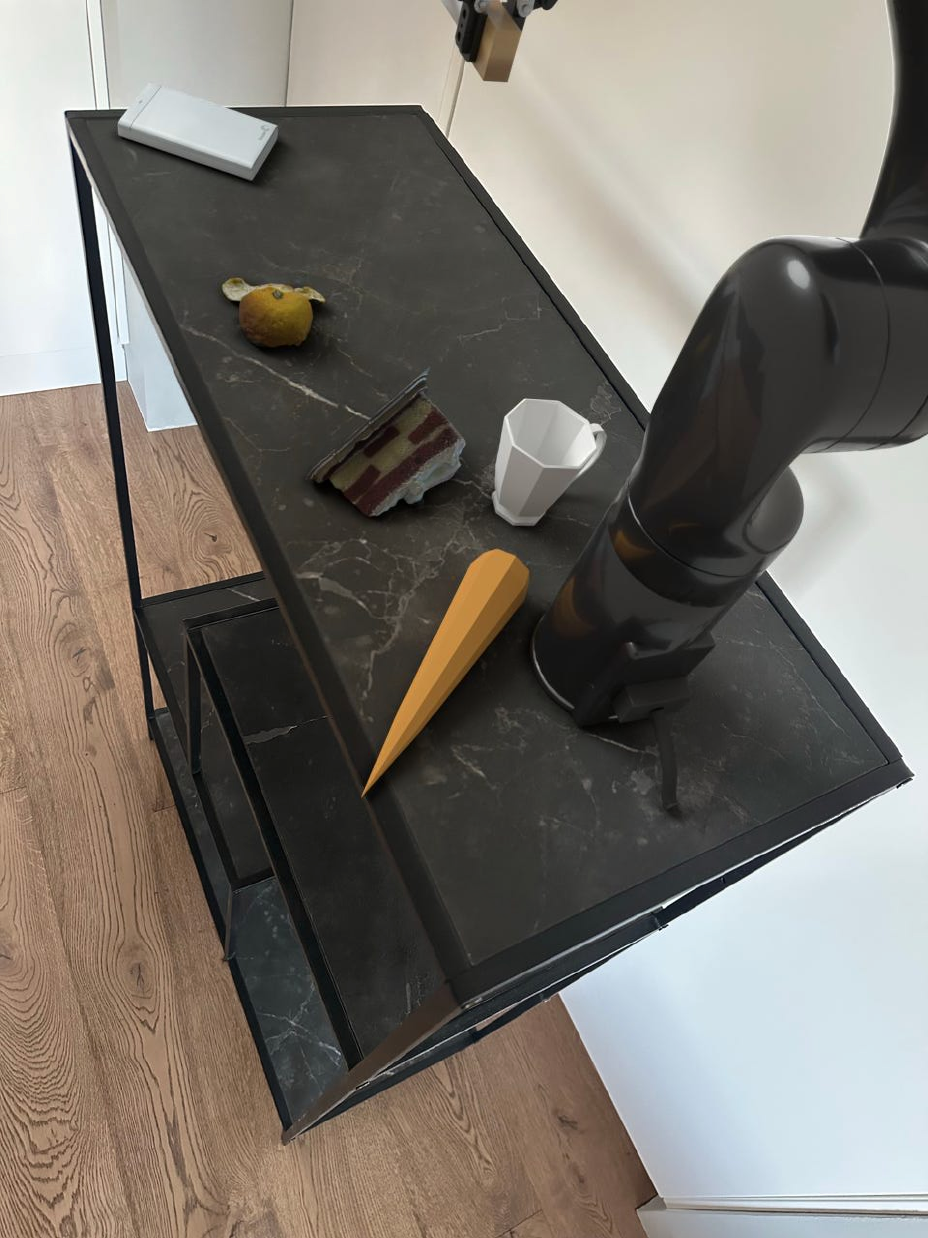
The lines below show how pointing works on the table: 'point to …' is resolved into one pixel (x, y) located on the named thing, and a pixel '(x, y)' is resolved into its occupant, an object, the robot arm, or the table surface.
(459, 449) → the chocolate cake
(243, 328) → the fruit
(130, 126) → the hard drive
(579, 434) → the cup
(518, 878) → the table surface
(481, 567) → the carrot
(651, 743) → the table surface
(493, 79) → the knife
